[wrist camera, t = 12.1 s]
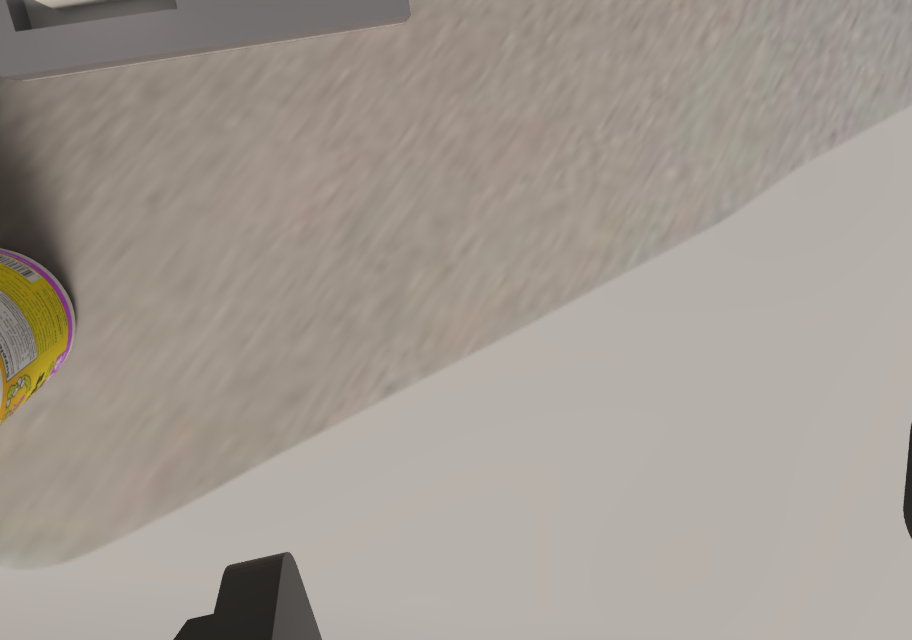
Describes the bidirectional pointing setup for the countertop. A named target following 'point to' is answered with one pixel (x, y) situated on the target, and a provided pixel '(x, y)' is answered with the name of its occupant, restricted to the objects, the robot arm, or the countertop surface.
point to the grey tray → (168, 30)
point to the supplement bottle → (30, 329)
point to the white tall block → (71, 3)
